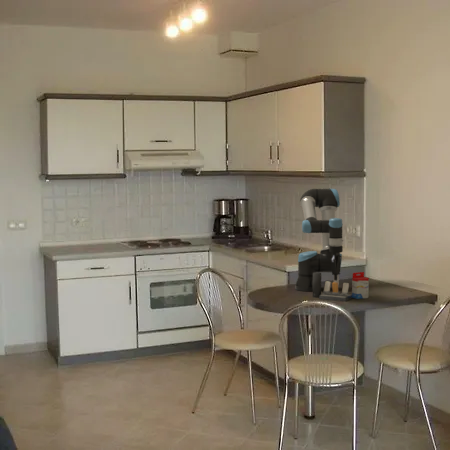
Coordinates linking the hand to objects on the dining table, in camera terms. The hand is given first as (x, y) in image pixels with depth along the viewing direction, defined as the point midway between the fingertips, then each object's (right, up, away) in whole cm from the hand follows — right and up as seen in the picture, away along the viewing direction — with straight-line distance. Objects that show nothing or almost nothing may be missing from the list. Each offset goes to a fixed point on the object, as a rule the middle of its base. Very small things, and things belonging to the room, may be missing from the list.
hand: (336, 285), depth 412 cm
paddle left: (-5, -4, +3) cm, 7 cm away
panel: (0, -7, +1) cm, 8 cm away
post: (-10, -7, +6) cm, 14 cm away
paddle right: (+5, -4, -2) cm, 7 cm away
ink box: (+14, -7, +3) cm, 16 cm away
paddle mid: (0, -4, +1) cm, 4 cm away
